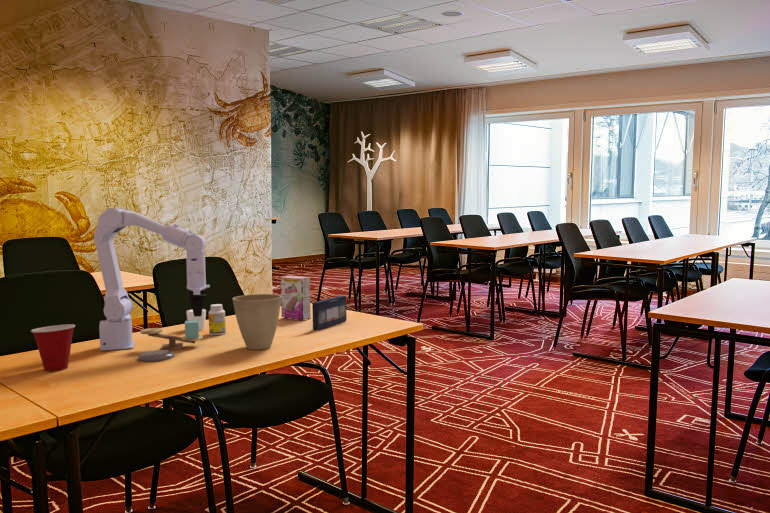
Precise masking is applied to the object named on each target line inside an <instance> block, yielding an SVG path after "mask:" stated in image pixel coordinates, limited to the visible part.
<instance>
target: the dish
mask: <svg viewBox="0 0 770 513" xmlns="http://www.w3.org/2000/svg"><path fill="white" fill-rule="evenodd" d="M174 357H175V352H174V351H173V350H162V349H158V350H157V349H156V350H150V351H144V352H141V353H139V354H138V357H137V360H138V361H141V362H144V363H147V362H149V363H151V362H152V363H153V362H163V361H166V360H170V359H172V358H174Z"/></svg>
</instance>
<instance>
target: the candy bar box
mask: <svg viewBox="0 0 770 513" xmlns="http://www.w3.org/2000/svg"><path fill="white" fill-rule="evenodd" d="M310 279H311V278H310V277H306V276H294V275H286V276H280V296H281V304H280V306H281V318H282V317H284V318H283V319H286V318H291V319H290V320H294V319H297V321H302V320H304V321H306V320H305V319H308V318H311V285H310V284H311V280H310ZM308 320H309V319H308Z"/></svg>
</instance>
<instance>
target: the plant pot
mask: <svg viewBox="0 0 770 513" xmlns="http://www.w3.org/2000/svg"><path fill="white" fill-rule="evenodd" d="M232 304H233V308H234V313H235V318H236V322H237V324H238V325H237V326H238V329H239V332H240V334H241V337H242V340H243V342H244V344H245V347H246V349H248V350H253V351H257V350H258V351H259V350H266V349H269V348H271V347H272V344H273V341H274V338H275V334H276V331H277V327H278V322H279V317H280V311H281V294H276V293H275V294H274V293H273V294H272V293H257V294H255V293H254V294H246V295H245V294H244V295H238V296H234V297H232Z"/></svg>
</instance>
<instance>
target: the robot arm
mask: <svg viewBox="0 0 770 513" xmlns="http://www.w3.org/2000/svg"><path fill="white" fill-rule="evenodd" d="M128 226H131V227H132V226H136V227H140V228H142V229H145V230H147V231H150V232H152V233H155V234H158V235H160V236H161V238H162V240H163V241H165V242H167V243H169V244H170V245H171V244H172V245H174V246H176V247H179V248H181V249H183V248H184V250H185V251H186V260H185V261H186V262H185V263H186V289H187V290H188V291H187V293H188V294H187V298H188V300H189V302H190V304H191V310H192V309H193V314H194V317H198V316H201V315H202V309H204V308H203V306H204V302H205V299H206V297H207V294H206V292H207V290H206V289H209V288H211V287H210V286H211V285H210V284H207V279H206V274H207V273H206V257H205V254H206V253H205V248H206V246H207V240H206V239H205V237H204V236H202V235H201V233H194V231H193V230H187V229H185V228H182V227H180V225H179V224H177V223H174V224H173V223H168V224H166V225H165V224H163V223H160V222H158V221H156V220H153V219H152V218H149V217H148V216H145V215H143V214H141V213H138V212H136V211H133V210H129V209H128V210H127V209H126V208H123V207H118V208H112V207H110V208H107V209H105V210H104V211H103V212H102V213H101V214H100V215H99V216H98V221H97V225H96V228H95V231H94V233H93V240H94V243H95V244H94V245H95V248H96V253H97V258H98V262H99V267H100V271H101V275H102V280H103V285H104V290H105V294H104V297H103V300H104V307H103V314H104V316H105V318H106V319H105V320H100V321H99V327H98V328H99V329H98V330H99V333H98V334H99V348H100V349H99V351H113V350H114V351H115V350H125V349H134V346H135V345H136V341H133V324H132V323H133V321H132V316H131V313H132V311H133V310H134V302H133V301H132V300H131V299H130V297H129V294H128V291H127V290H126V289H125V287H124V284H123V280H122V279H123V278H122V275H121V271H120V267H119V265H120V264H119V262H118V256H117V252H116V247H115V244H114V238H115V237H116V236H117V235H118V234H119V232H120V231H122V230H123V229H125V228H126V227H128Z"/></svg>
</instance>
